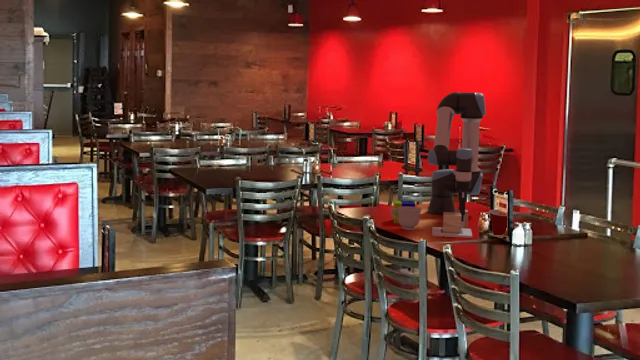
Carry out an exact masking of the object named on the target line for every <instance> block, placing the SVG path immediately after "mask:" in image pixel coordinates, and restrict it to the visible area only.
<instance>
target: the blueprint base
mask: <svg viewBox="0 0 640 360" xmlns="http://www.w3.org/2000/svg"><path fill="white" fill-rule="evenodd" d="M431 228H432V229H431V236H432V237H443V236H444V238H445V237H447V238H466V239H467V238H468V239H469V238H470V239H473V233H472V229H471V228H461V233H450V232H443V226H442V227H437V226H432V227H431Z"/></svg>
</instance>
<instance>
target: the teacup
mask: <svg viewBox="0 0 640 360" xmlns="http://www.w3.org/2000/svg"><path fill="white" fill-rule="evenodd" d="M393 210H395V211H396V213H397V212H398V216H399V218H398V217H396V216H394V215H393ZM397 210H398V211H397ZM397 210H396V208H394V207H392V208H391V209H390V215H391V217H392V218H393V217H394V218H396V219H398V221H399V223H398V224H399V225H400V226H401V227H402V228H401V229H402V230H404V229H405V231H414V230H415V227H417V226H418V225H419V222H420V215H421V212H422V210H423V209H422V208H421V207H418V206H415V207H397Z"/></svg>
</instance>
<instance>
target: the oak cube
mask: <svg viewBox="0 0 640 360" xmlns="http://www.w3.org/2000/svg"><path fill="white" fill-rule="evenodd" d="M442 215H443V216H442V227H443V232H450V233H461V213H448V212H444V214H442Z"/></svg>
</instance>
